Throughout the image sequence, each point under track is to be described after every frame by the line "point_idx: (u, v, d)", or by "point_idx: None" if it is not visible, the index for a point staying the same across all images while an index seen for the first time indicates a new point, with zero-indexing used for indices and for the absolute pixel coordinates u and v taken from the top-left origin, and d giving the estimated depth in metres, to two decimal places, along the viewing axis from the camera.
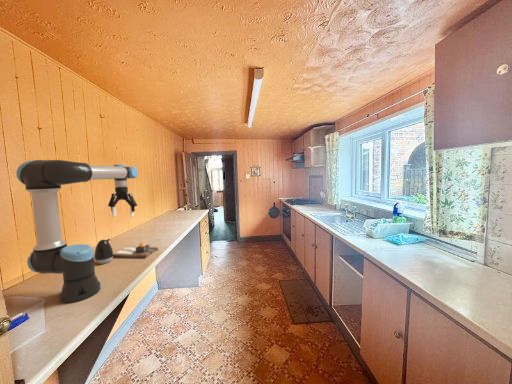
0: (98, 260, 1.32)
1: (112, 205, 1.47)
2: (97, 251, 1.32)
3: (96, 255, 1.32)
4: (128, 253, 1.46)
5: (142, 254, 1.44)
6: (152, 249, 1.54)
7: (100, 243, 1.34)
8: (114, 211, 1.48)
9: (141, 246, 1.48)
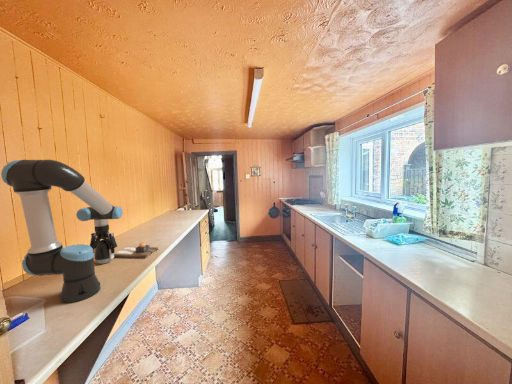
0: (98, 260, 1.32)
1: (94, 246, 1.36)
2: (97, 251, 1.32)
3: (96, 255, 1.32)
4: (128, 253, 1.46)
5: (142, 254, 1.44)
6: (152, 249, 1.54)
7: (100, 243, 1.34)
8: None
9: (141, 246, 1.48)
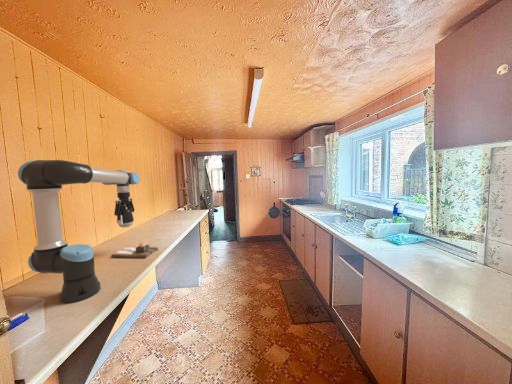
0: None
1: None
2: None
3: None
4: (128, 253, 1.46)
5: (142, 254, 1.44)
6: (152, 249, 1.54)
7: None
8: None
9: (141, 246, 1.48)
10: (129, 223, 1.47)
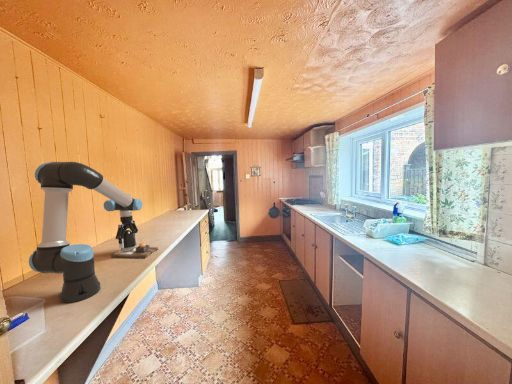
0: None
1: None
2: None
3: None
4: (128, 253, 1.46)
5: (142, 254, 1.44)
6: (152, 249, 1.54)
7: None
8: None
9: (141, 246, 1.48)
10: (131, 247, 1.49)
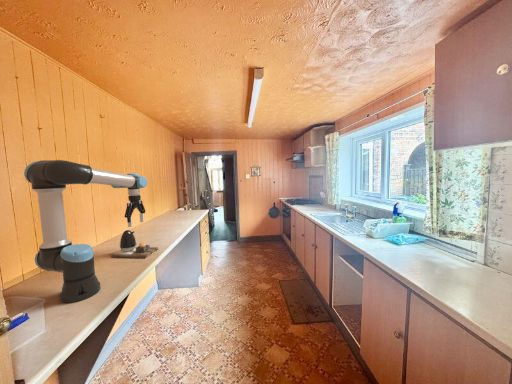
0: None
1: (139, 211, 1.55)
2: None
3: None
4: (128, 253, 1.46)
5: (142, 254, 1.44)
6: (152, 249, 1.54)
7: None
8: (141, 217, 1.55)
9: (141, 246, 1.48)
10: (132, 248, 1.49)
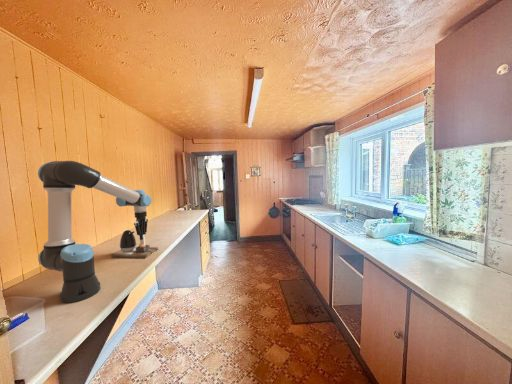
0: None
1: None
2: None
3: None
4: (128, 253, 1.46)
5: (142, 254, 1.44)
6: (152, 249, 1.54)
7: None
8: None
9: (141, 246, 1.48)
10: (132, 248, 1.49)
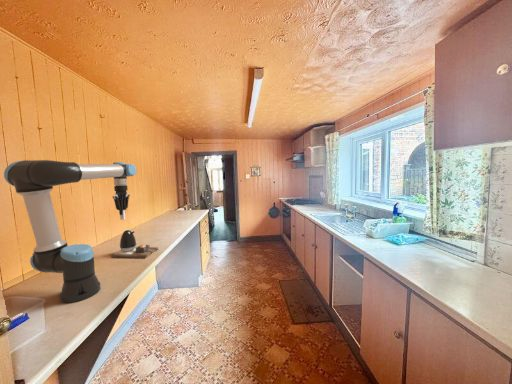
0: None
1: None
2: None
3: None
4: (128, 253, 1.46)
5: (142, 254, 1.44)
6: (152, 249, 1.54)
7: None
8: None
9: None
10: (132, 248, 1.49)
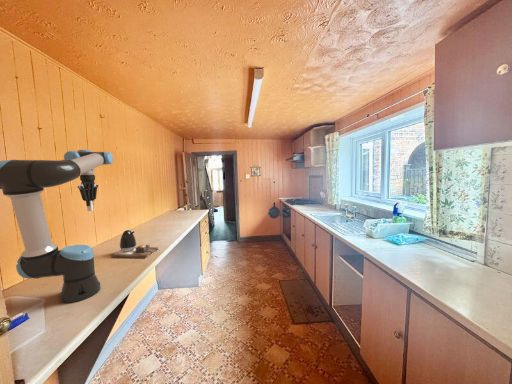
0: None
1: None
2: None
3: None
4: (128, 253, 1.46)
5: (142, 254, 1.44)
6: (152, 249, 1.54)
7: None
8: None
9: None
10: (132, 248, 1.49)
